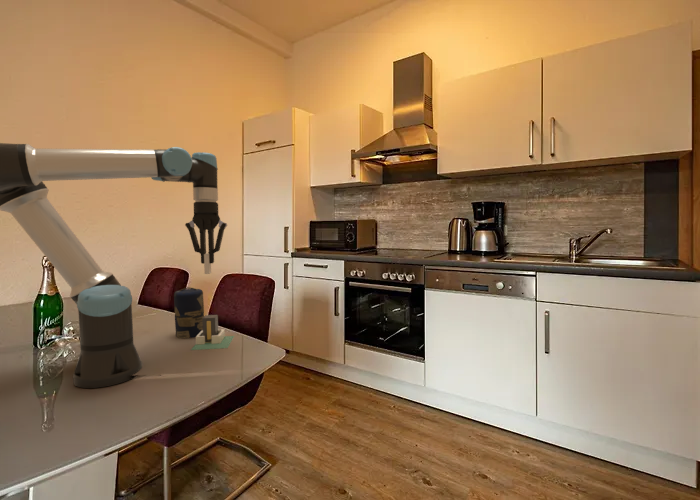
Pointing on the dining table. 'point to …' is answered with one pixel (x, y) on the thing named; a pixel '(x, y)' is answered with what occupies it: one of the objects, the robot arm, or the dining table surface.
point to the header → (215, 338)
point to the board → (209, 345)
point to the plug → (210, 326)
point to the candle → (188, 312)
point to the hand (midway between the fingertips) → (207, 273)
